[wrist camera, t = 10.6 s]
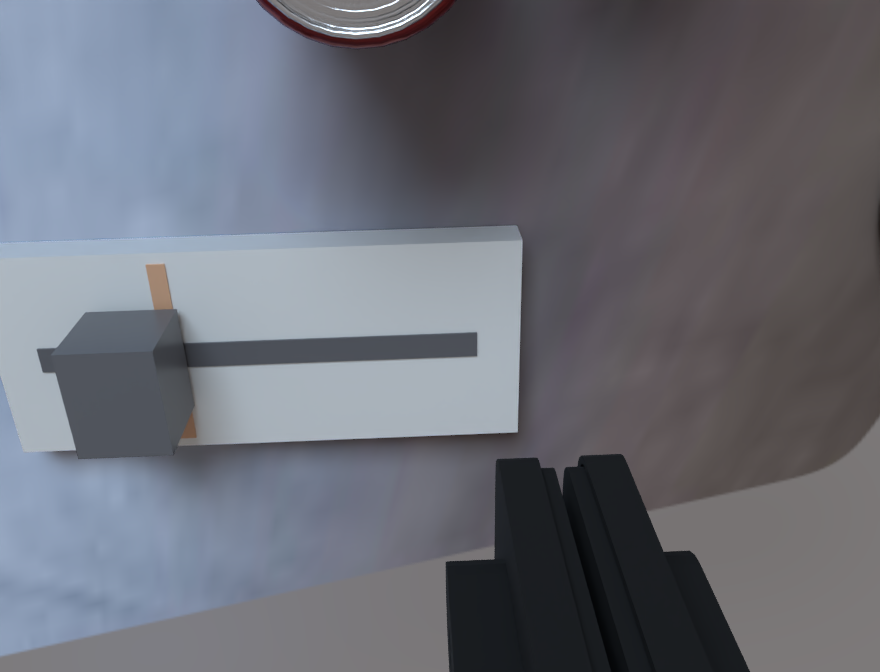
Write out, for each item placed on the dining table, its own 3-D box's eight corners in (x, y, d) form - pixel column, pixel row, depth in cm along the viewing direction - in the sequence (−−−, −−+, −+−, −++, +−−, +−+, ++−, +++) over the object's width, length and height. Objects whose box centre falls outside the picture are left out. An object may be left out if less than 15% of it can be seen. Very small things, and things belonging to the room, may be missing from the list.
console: (516, 225, 38) (522, 241, 36) (512, 410, 42) (517, 433, 40) (-14, 243, 37) (-36, 260, 35) (39, 429, 42) (22, 453, 40)
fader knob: (177, 308, 36) (152, 351, 33) (194, 405, 38) (173, 455, 35) (85, 312, 36) (50, 355, 33) (108, 408, 38) (78, 459, 35)
